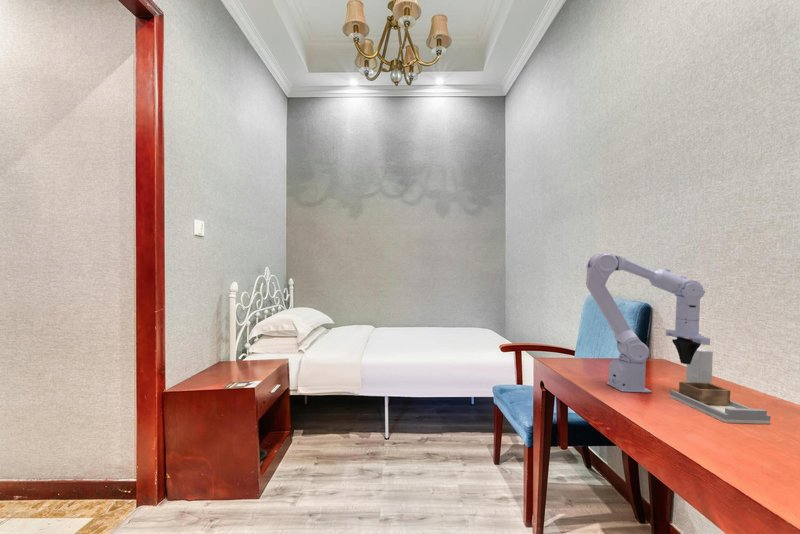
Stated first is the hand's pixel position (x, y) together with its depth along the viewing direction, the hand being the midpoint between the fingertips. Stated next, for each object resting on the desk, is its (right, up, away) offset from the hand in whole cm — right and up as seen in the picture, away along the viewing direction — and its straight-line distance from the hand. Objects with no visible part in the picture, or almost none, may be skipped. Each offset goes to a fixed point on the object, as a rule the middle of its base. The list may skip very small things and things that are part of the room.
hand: (685, 363), depth 113 cm
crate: (-1, -8, -8) cm, 12 cm away
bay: (-1, -9, -12) cm, 15 cm away
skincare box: (+12, -10, +10) cm, 19 cm away
